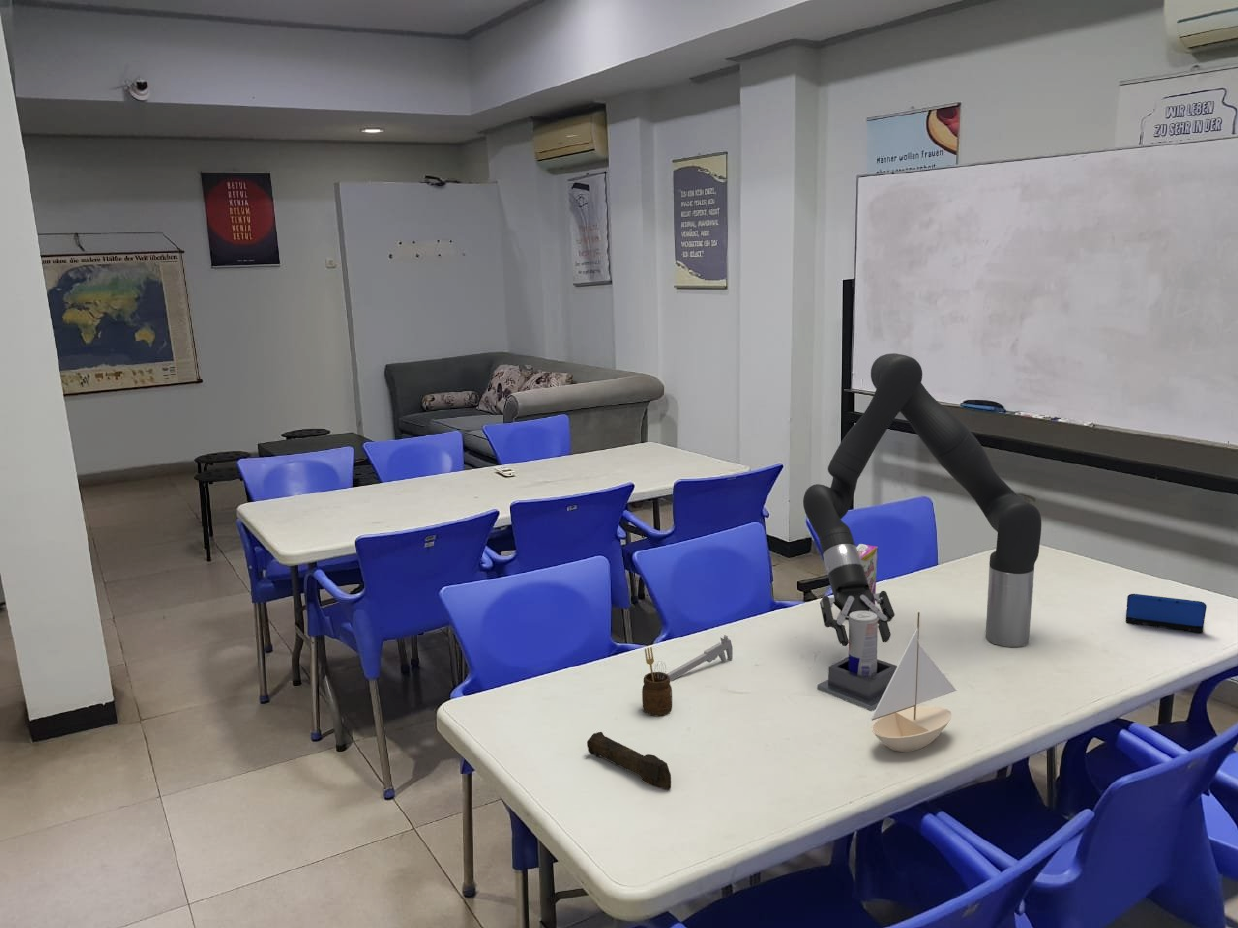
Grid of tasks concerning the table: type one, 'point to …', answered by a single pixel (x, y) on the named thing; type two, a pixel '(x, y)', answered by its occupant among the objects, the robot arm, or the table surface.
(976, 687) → the table surface
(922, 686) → the toy sailboat
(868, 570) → the candy bar box
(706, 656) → the caliper
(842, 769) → the table surface
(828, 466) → the robot arm
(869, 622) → the beverage can
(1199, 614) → the handheld game console
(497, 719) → the table surface
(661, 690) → the utensil holder
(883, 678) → the dark grey square holder
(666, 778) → the hand tool
